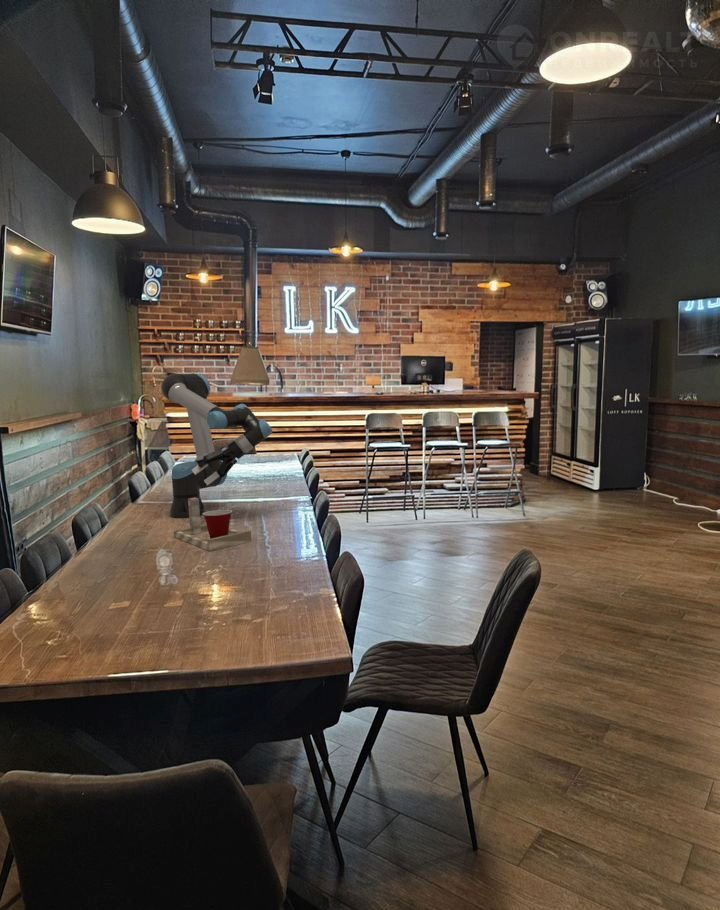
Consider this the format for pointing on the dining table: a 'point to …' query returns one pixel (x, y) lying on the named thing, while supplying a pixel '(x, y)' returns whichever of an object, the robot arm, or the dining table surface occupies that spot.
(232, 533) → the open rectangular frame
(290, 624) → the dining table surface
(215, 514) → the plastic cup
